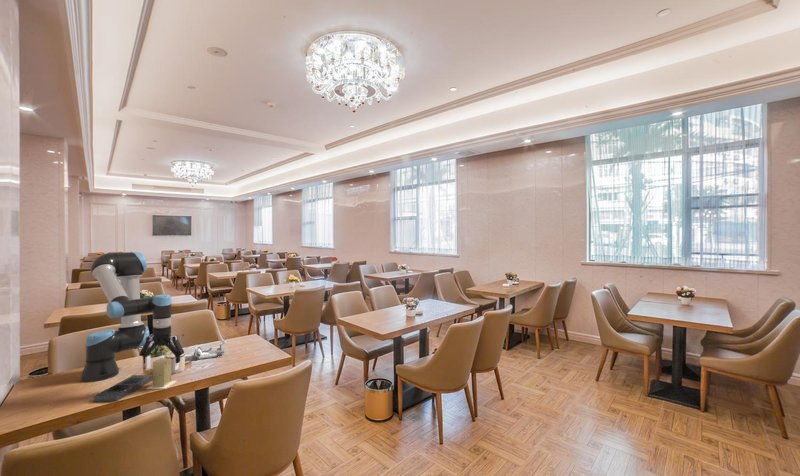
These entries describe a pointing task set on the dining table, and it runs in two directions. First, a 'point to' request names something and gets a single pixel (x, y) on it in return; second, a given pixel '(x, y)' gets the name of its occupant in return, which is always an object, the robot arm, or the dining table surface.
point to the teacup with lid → (181, 363)
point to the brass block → (161, 372)
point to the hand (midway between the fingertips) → (162, 369)
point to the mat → (161, 387)
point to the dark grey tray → (122, 388)
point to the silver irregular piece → (208, 352)
